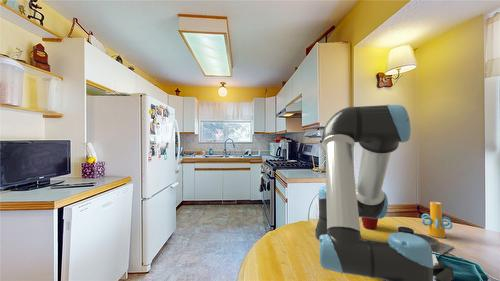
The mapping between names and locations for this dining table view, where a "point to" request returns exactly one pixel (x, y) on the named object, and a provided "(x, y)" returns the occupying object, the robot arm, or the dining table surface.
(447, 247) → the duct plate
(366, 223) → the plastic cup
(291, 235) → the dining table surface
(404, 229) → the pill bottle
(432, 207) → the cylinder
